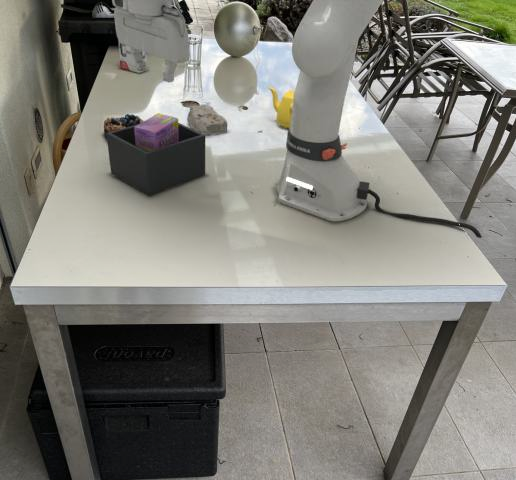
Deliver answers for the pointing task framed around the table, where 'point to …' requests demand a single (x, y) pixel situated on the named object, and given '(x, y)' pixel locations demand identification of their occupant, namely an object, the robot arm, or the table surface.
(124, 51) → the ink box
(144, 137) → the box
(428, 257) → the table surface
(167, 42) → the robot arm
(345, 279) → the table surface
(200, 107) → the stone
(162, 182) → the bin
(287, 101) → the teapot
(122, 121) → the pastry
